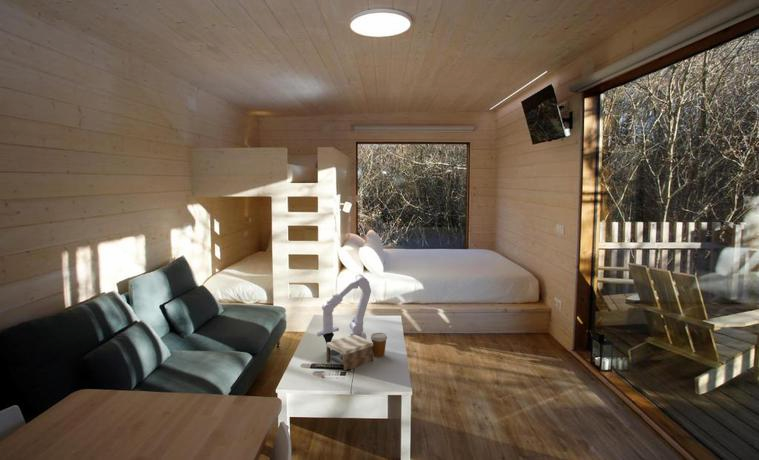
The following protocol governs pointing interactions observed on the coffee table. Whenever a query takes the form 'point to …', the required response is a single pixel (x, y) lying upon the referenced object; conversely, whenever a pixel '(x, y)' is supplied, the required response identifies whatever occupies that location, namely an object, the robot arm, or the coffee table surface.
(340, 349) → the wooden slatted crate
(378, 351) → the disposable coffee cup
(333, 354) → the tray
